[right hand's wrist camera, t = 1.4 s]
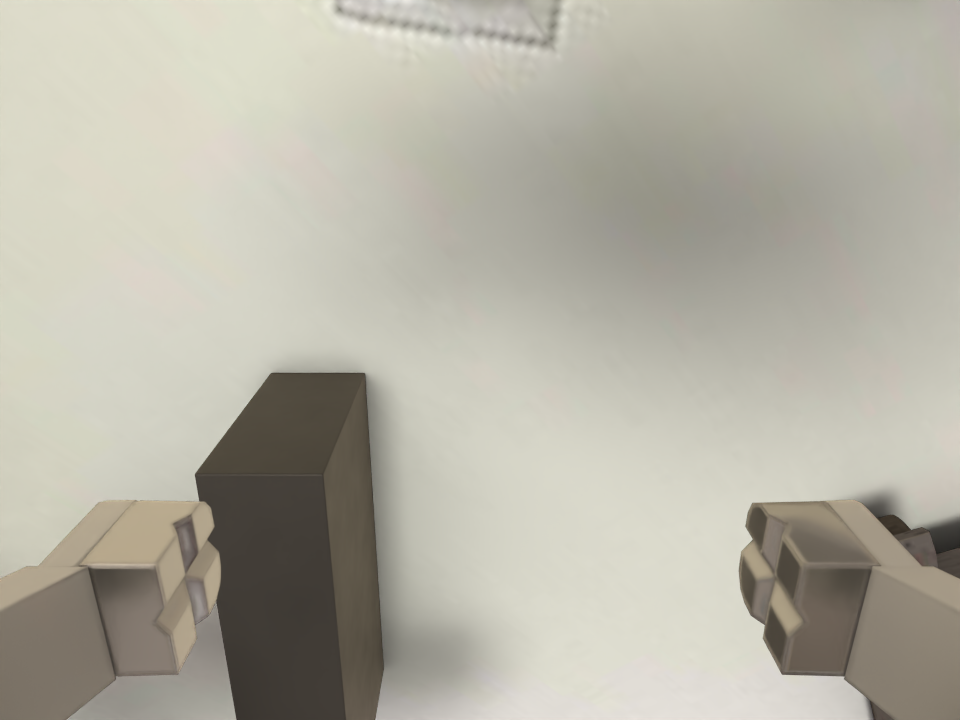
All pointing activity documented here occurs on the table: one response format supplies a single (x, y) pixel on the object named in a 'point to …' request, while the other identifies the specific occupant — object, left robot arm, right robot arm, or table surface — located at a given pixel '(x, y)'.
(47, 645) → the right robot arm
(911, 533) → the toy
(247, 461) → the box
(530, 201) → the table surface
